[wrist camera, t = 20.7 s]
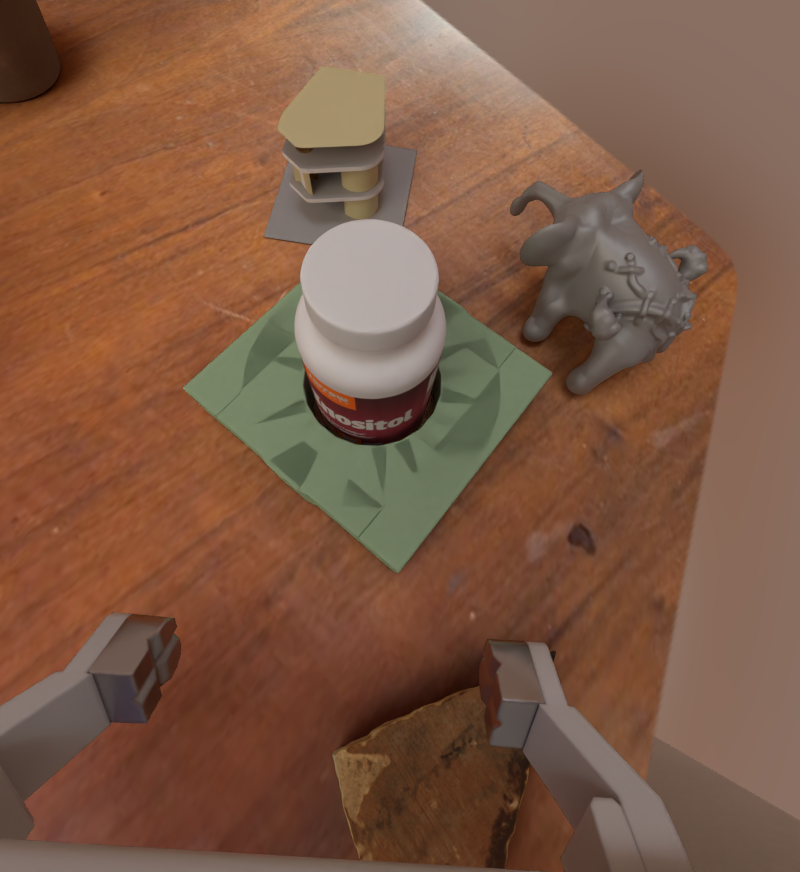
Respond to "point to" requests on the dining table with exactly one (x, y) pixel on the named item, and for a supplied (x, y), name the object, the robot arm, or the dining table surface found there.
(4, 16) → the flower pot
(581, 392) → the gray elephant figurine
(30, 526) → the dining table surface
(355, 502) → the socket pad
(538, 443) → the dining table surface
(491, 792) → the shard
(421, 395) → the pill bottle
